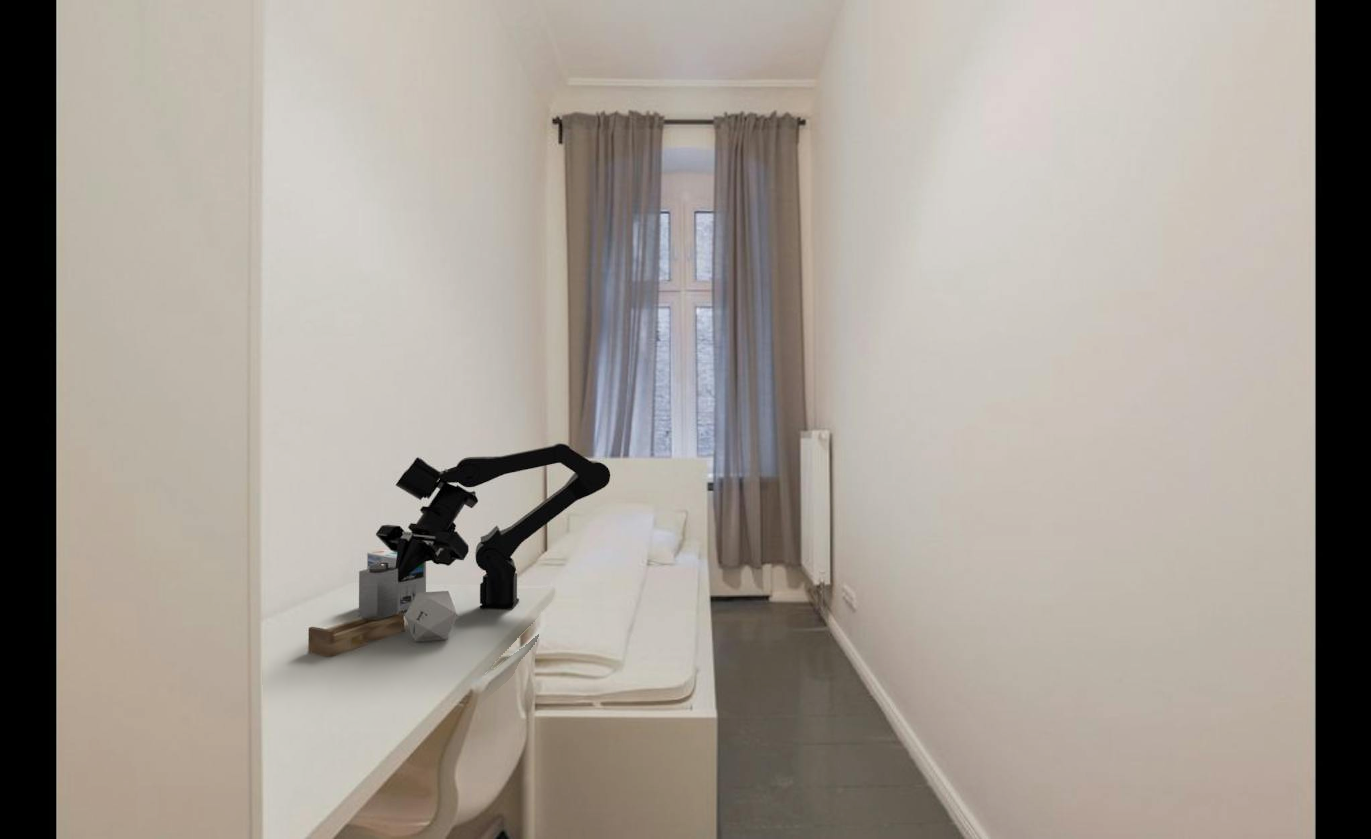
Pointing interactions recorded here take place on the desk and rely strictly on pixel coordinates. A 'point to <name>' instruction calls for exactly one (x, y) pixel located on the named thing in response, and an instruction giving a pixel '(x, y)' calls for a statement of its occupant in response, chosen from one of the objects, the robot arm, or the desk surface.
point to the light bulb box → (409, 584)
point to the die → (431, 616)
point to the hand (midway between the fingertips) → (396, 580)
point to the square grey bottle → (378, 592)
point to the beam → (352, 634)
